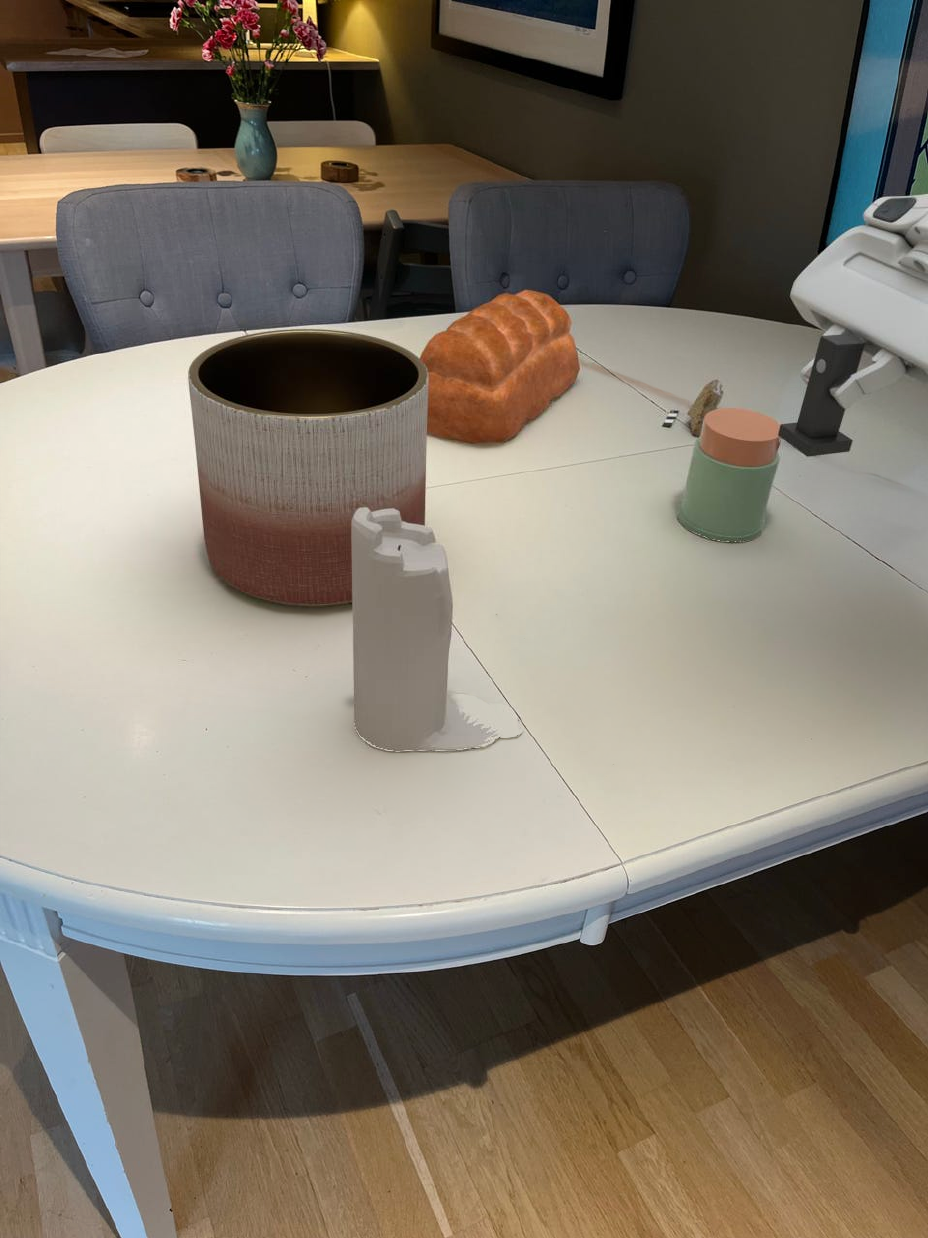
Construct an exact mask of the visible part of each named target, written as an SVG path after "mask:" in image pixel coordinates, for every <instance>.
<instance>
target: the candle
mask: <svg viewBox="0 0 928 1238" xmlns="http://www.w3.org/2000/svg"><path fill="white" fill-rule="evenodd" d="M351 545H352V602H351V603H352V663H353V664H352V668H353V669H352V672H353V674H352V675H353V722H354V723H355V725H354V728H355V727H356V729H355V731H356V730H357V731H358V733H359V735H360V736H361V737H363V738H364V739H365V740H366V741H368V742H370V743H371V744H372V745H375V746H376V747H379V748H383V749H387V750H393V751H402V750H403V751H404V750H427V751H426V752H429V751H428V750H433V751H432V752H436V751H435V750H457V749H464V748H467V749H468V748H475V747H482V746H479V745H482V744H485V743H488V742H490V741H491V740H488V741H484V740H486V739H487V738H488V737H490V736H491V735H493V734H494V733H495V732H496V731H497V730H496V731H492V732H488V733H486V732H487V731H488V730H489V729H490V728H491V727H489V728H483V729H481V727H482V726H483V725H484V724H478V725H476V726H473V724H474V723H475V722H476V721H477V720H478V719H477V720H476V721H474V722H472V723H468V724H467V722H468V720H469V717H470V715H469V716H467V717H466V719H465V720H463V719H464V715H465V713H464V712H463V713H462V715H459V709H455V708H458V707H457V705H456V702H455V700H454V699H451V700H452V703H453V704H451V702H450V700H449V698H448V697H447V692H448V681H449V679H448V676H449V657H450V647H451V641H452V634H453V633H452V630H453V613H454V612H453V610H454V605H453V604H454V603H453V602H454V601H453V592H452V587H451V580H450V573H449V563H448V556H447V552H446V550H445V547H444V546H443V545H442V544H441V543H439V542H437V541H436V536H435V533H434V530H433V527H430V526H427V525H425V526H424V525H418V524H411V523H406V522H404V521H402V519H401V515H400V512H399V511H398V510H396V509H394V508H391V509H382V510H377V511H374V512H371V511H370V510H369V509H368V508H367V507H365V508H358V510H357V511H356V512H355V514H354V516H353V518H352V523H351ZM462 708H463V707H462ZM359 735H358V736H359ZM497 735H498V734H495V735H493V736H491V737H495V736H497Z"/></svg>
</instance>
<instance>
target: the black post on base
mask: <svg viewBox="0 0 928 1238" xmlns="http://www.w3.org/2000/svg"><path fill="white" fill-rule="evenodd" d="M864 346H865V342H863V341H861V340H859V339H858V338H856V337H854V336H852V335H850V334H841V335H828V336H823V335H821V336H820V338H819V342H818V344H817V349H816V353H815V355H816V356H815V357H814V358H815V359H814V358H813V359H814V363H813V367H812V370H811V374H810V378H809V381H808V385H806V388H805V392H804V396H803V400H802V403H801V407H800V411H799V415H798V418H797V422H789V423H788V422H787V423H780V429H779V433H778V436H779V437H781V440H783V441H785V442H786V443H787V444H789V445H791V446H792V447H793V448H794V449H796V450H797V451H799V452H800V453H801V454H803V455H804V456H805V457H807V458H809V457H817V456H818V457H819V456H825V455H832V454H833V455H834V454H842V453H849V452H850V450H851V448H852V444H853V441H854V440H853V439H852V438H850V437H849V436H848V435H846V434H844V433H843V432H841V431H840V429H841V425H842V422H843V419H844V416H845V412H846V409H845V408H843V407H841V406H840V405H838V404H837V403H835V402H834V401H832V399H831V397H830V396H829V395H828V393H827V390H828V387H829V386H830V385H831V384H832V383H833V382H835V381H836V379H837V378H838V377H839V376H841V375H842V374H843V373H845V374H847V375H849V376H850V377H851V375H853V374H855V373H857V372H858V369H859V366H860V363H861V359H862V356H863V353H864V352H863V350H864Z"/></svg>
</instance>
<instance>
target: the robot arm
mask: <svg viewBox="0 0 928 1238" xmlns="http://www.w3.org/2000/svg"><path fill="white" fill-rule="evenodd" d="M862 217H863V220H864V223H865V224H862V225H858V226H854V227H852V228H850V229H848V230H847V231H844V232H843V233H842V234H840V235H839V236H838V237H837V238H836V239H835V240H834V241H832V242H831V243H830V244H829V245H828V246H827V247H826V248H825V249H824V250H823V251H821V252H820V253H819V254H818V255H817V256H816V257H815V258H814V259H813V260H812V262H810V263H809V264H808V265H807V266H806V267H805V268H804V270H802V271H801V273H800V274H799V275H798V276H797V277H796V279H795V280H794V281H793V283H792V287H791V290H790V294H789V297H790V300H791V301H792V303H793V305H794V306H795V309H796V310H797V311H798V313H799V314H800V316H801V317H802V319H803V320H804V321H806V322H808V323H809V324H811V325H812V326H815V327H816V328H818V329H820V330H822V331H823V332H824V333H823V334H822V336H828V335H841V334H850V335H852V336H854V337H856V338H858V339H859V340H861V341H863V342H865V346H864V350H863V353H864V354H866V355H868V356H869V357H871V362H872V364H871V365H869V366H866V367H864V368H863V369H860V370H859V371H857V373H855V374H853V375H851V377H850V376H849V375H847V374H845V373H843V374H842V375H841V376H839V377H838V378H837V379H836V381H835V382H833V383H832V384H831V385H830V386H829V387H828V390H827V393H828V395H829V396H830V397H831V399H832V401H834V402H835V403H837V404H838V405H840V406H841V407H843V408H845V410H847V409H850V408H851V407H852V406H853V405H854V404H855V403H856V402H857V401H858V400H860V399H861V398H862V397H863V396H864V395H869V394H871V393H873V392H876V391H879V390H881V389H883V388H886V387H889V386H892V385H893V384H895V383H896V382H897V381H898V380H899V379H900V378H901V377H903V375H904V376H906V377H908V378H909V379H912V380H913V381H915V382H917V383H919V384H921V385H923V386H925V387H926V388H928V193H924V194H917V195H916V194H915V195H902V196H897V195H896V196H882V197H879V198H878V199H876V200H874V201H873V202H872V203H871V204H870V205H869V206H868V207H867V208H866V209H865V211H864V212H863V214H862ZM815 356H816V354H815ZM814 359H815V357H813V359H812V360H811V361H809V362H808V363H807V364H806V365H805V366H804V367H803V368H802V369H801V371H800V373H799V374H800V378H801V379H802V381H803V382H804V384H805V385H806V386H807V385H808V381H809V378H810V374H811V370H812V367H813V363H814Z"/></svg>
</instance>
